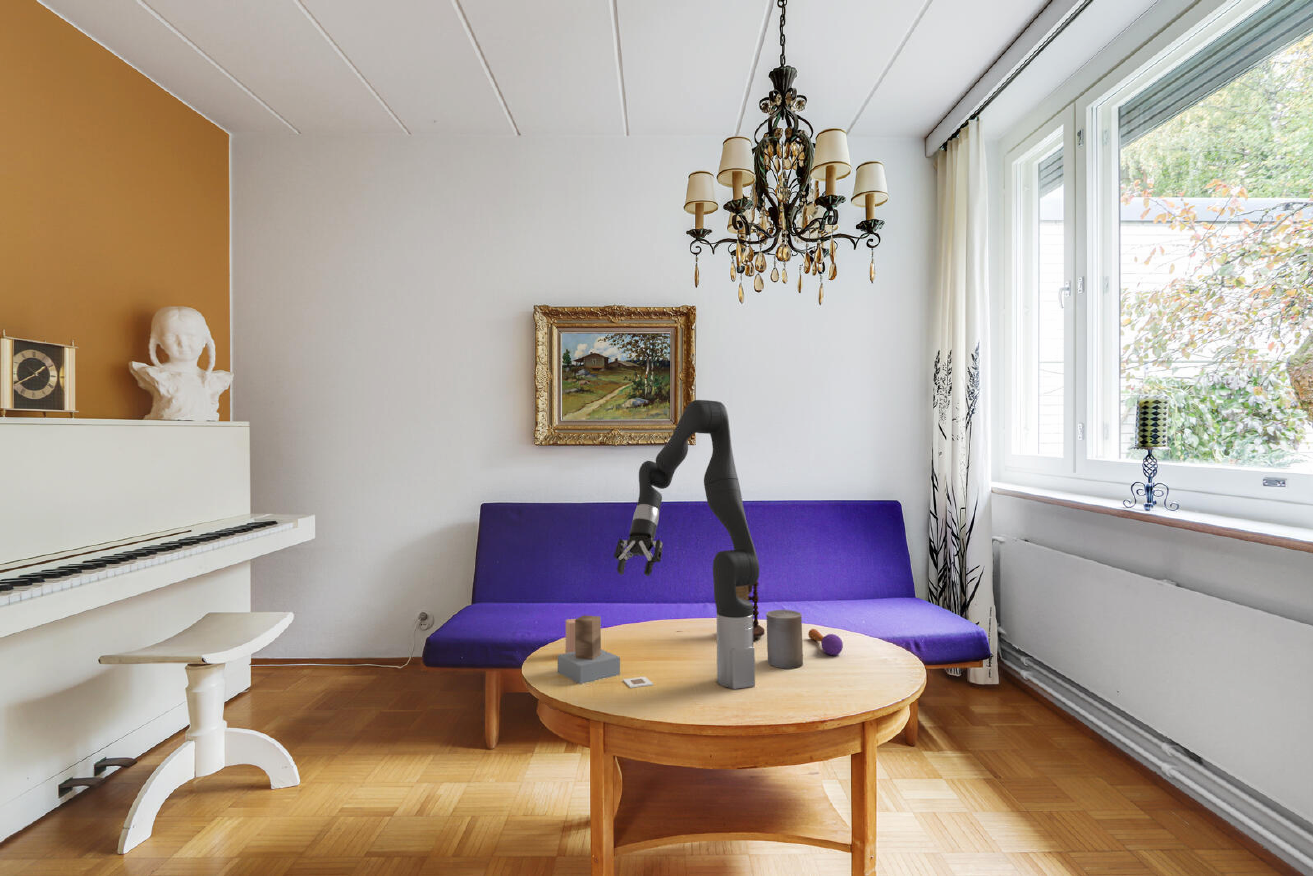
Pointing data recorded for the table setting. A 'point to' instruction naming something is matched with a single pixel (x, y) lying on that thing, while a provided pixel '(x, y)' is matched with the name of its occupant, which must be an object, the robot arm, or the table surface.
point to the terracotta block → (570, 635)
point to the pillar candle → (784, 638)
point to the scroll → (744, 593)
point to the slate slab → (588, 667)
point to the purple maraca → (827, 642)
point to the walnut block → (587, 637)
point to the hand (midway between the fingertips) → (633, 574)
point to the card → (637, 682)
